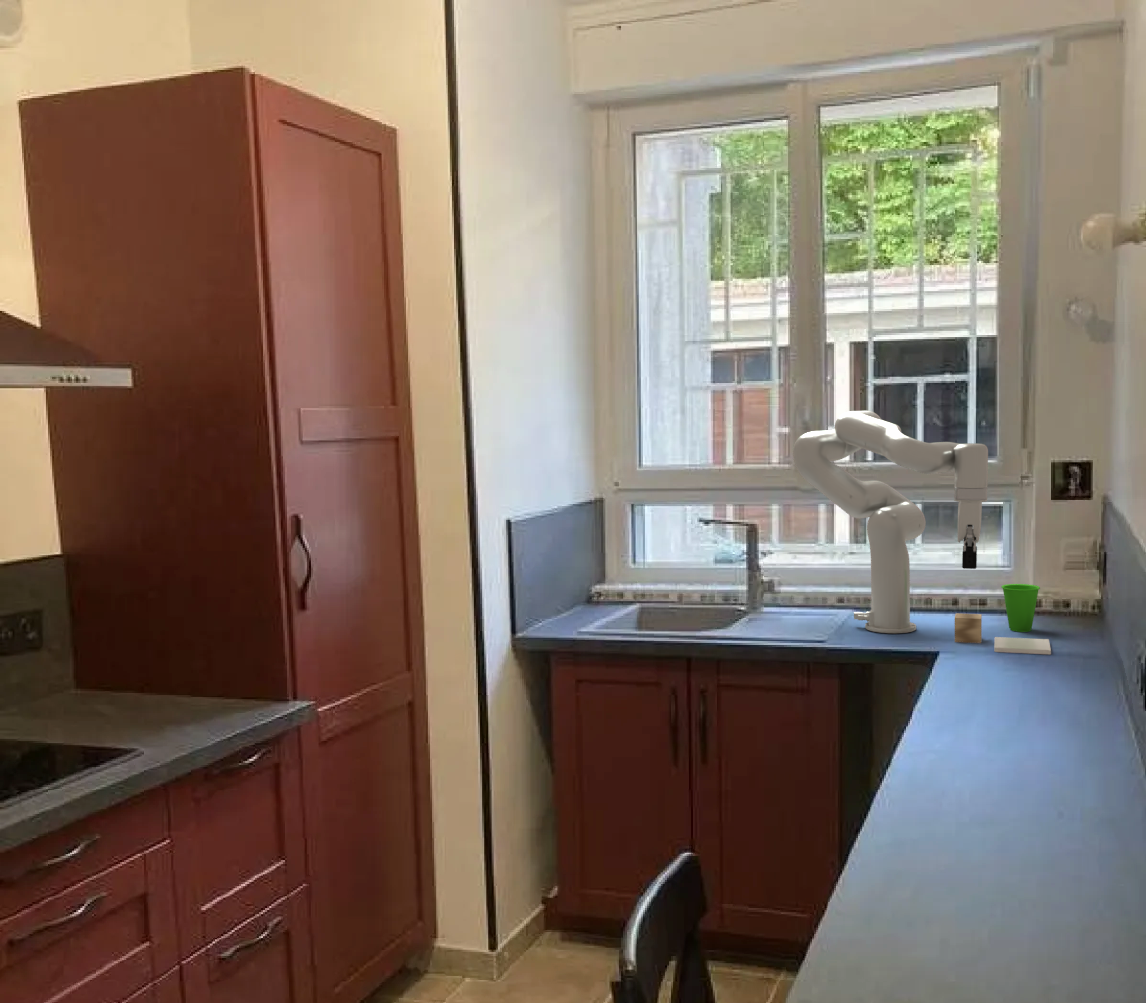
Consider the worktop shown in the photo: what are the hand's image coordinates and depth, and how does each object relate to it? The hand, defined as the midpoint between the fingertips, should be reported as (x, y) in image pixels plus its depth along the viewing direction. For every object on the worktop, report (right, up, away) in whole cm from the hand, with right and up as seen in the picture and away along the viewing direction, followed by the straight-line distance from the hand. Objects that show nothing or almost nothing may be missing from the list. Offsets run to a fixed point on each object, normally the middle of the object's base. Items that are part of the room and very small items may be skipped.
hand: (969, 565), depth 268 cm
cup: (+17, -17, +11) cm, 26 cm away
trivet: (+9, -19, -9) cm, 23 cm away
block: (0, -18, +1) cm, 18 cm away
